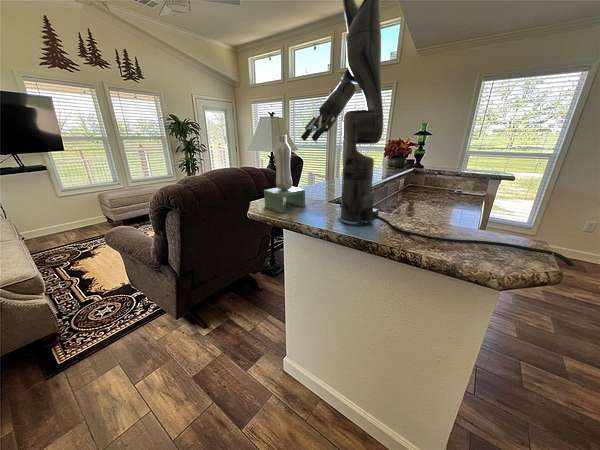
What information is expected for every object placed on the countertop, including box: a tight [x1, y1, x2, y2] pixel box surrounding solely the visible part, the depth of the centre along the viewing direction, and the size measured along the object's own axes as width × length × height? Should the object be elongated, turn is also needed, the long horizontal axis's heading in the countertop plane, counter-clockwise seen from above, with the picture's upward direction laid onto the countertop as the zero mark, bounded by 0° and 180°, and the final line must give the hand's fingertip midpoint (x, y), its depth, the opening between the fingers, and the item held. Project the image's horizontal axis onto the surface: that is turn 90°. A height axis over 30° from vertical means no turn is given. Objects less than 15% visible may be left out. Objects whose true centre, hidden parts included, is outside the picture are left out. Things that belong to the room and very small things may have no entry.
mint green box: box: [263, 185, 306, 214], centre depth 93 cm, size 11×12×7 cm
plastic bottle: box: [273, 134, 293, 190], centre depth 88 cm, size 6×7×20 cm
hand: (307, 139), depth 90 cm, fingers open, 8 cm apart
